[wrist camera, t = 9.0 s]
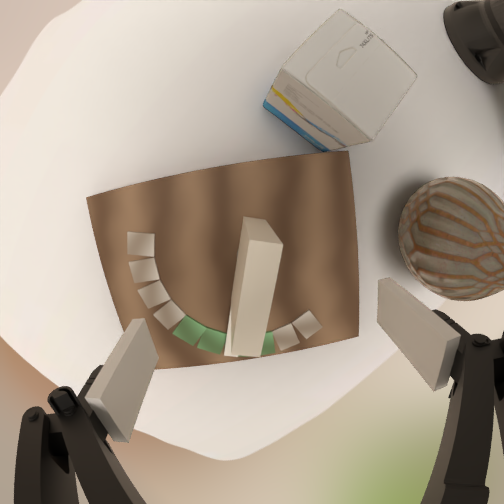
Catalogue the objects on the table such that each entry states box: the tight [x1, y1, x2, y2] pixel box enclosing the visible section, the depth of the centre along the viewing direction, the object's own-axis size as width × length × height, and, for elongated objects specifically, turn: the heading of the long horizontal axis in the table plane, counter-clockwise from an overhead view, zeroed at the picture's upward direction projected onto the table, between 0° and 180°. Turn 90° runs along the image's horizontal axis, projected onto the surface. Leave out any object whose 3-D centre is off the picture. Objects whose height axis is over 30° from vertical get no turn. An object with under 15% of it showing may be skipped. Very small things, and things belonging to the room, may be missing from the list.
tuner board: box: [86, 151, 359, 369], centre depth 31 cm, size 28×22×2 cm
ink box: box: [263, 9, 417, 152], centre depth 22 cm, size 9×8×12 cm
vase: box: [398, 177, 504, 301], centre depth 24 cm, size 13×13×18 cm
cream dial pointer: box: [224, 217, 283, 357], centre depth 24 cm, size 16×2×12 cm, turn 171°
